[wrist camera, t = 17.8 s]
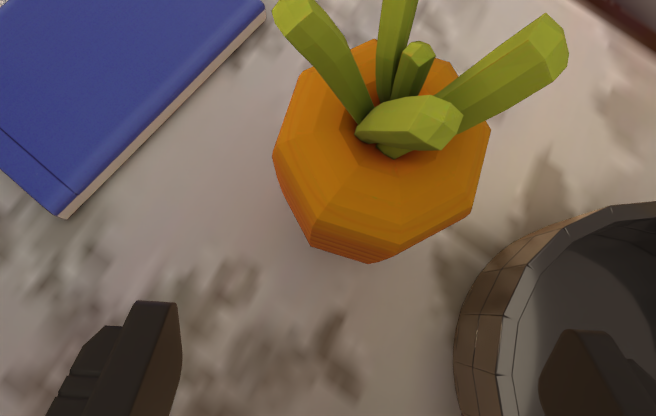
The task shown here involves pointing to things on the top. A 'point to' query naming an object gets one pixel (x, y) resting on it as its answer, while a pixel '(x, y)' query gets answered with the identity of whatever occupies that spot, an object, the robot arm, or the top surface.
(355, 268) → the top surface
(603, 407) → the robot arm
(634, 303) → the pan
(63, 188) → the hard drive
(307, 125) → the carrot
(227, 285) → the top surface
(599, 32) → the top surface
